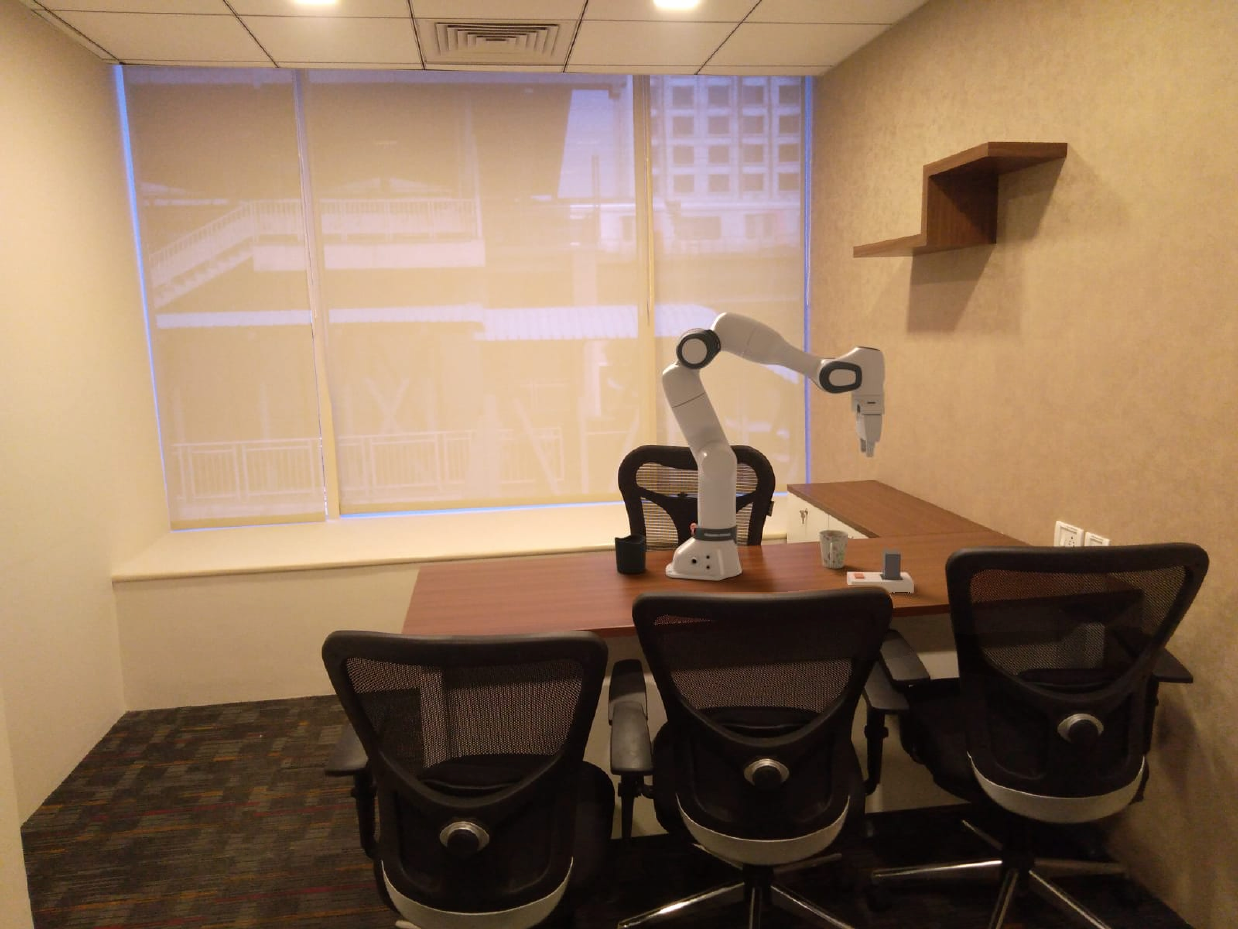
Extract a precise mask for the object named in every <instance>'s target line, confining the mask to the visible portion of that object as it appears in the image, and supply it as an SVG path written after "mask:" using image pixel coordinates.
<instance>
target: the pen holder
mask: <svg viewBox="0 0 1238 929" xmlns="http://www.w3.org/2000/svg"><path fill="white" fill-rule="evenodd" d="M646 546H647V536H645V535H641V534H629V535H627V536H624V537H618V536H617V537H614V551H615V563H616V570H617V572H619V573H621V574H626V575H631V574H632V575H634V574H640V573H643V572H644V571H645V570H646V566H647V565H646V563H647V562H646V560H647V559H646V557H647V556H646V555H647V547H646Z"/></svg>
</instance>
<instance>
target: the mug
mask: <svg viewBox="0 0 1238 929" xmlns="http://www.w3.org/2000/svg"><path fill="white" fill-rule="evenodd" d="M818 536H819V538H818V539H819V546H820V552H821V553H820V554H821V560H822V566H823V567H824V568H827V569H841V568H843V567H844V566H845V559H846V552H847V546H848V539H849V537H848V536H849V533H848V532H846V531H845V530H839V529H838V530H837V529H828V530H821V531H819V532H818Z"/></svg>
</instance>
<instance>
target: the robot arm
mask: <svg viewBox="0 0 1238 929" xmlns="http://www.w3.org/2000/svg"><path fill="white" fill-rule="evenodd" d="M712 322H713V323H712V324H711V326H710V327H709V328H708V329H705V328H701V327H699V328H698V327H696V328H695V327H694V328H692V329H688V330H687V331H685V332H683V334H682V335H681V336H680V337H679V338H678V341H677V343H676V348H675V353H676V357H677V359H676V361H675V362H674V363H672V364H669V366H668V367H666V368H665V369H664V371H663V372H662V374H661V378H660V379H661V383H662V387H663V391H664V394H665V397H666V399H667V402H668V404H669V406H670V409H671V411H672V413H673V415H674V418H675V421H676V422H677V424H678V426H679V428H680V430H681V433H682V435H683V436H684V439H685V441H686V443H687V445H688V448H689V449H690V451H691V453H692V456H693V458H694V460H695V462H696V465H697V523H694V522H693V523H691V525H690V527H689V528H690V531H691V532H690V534H691V537H689V539H688V540H686V541H684V542H683V543H682V544H680V546H678V548H676V550H675V551H674V553H673V558H672V562H670V563H669V564H667V565H666V568H665V574H666V576H668V577H669V578H675V579H690V580H705V581H721V580H724V579H726V578H733V577H736V576H738V575H740V574H742V573H743V570H742V567H741V563H740V558H739V553H738V552H739V551H738V541H739V530H738V524H737V522H736V521H737V519H736V518H737V516H736V515H737V514H736V513H737V511H736V507H737V506H736V505H737V502H736V499H737V498H736V497H737V484H738V483H737V478H738V459H737V456H736V453H735V451H733V449H732V448H731V446H730V443H729V440H728V439H727V436H726V434H725V431H724V430H723V428H722V425H721V422H720V420H719V417H718V416H717V414H716V411H715V409H714V407H713V404H712V402H711V400H710V398H709V395H708V394H707V391H706V388H705V386H704V385H703V382H702V380H701V377H700V376H701V375H700V371H701V369H704V368H706V367H707V366H708V365H709V364H711V362H712V361H713V360H714V359H715V358H716V357H717V355H719V353H721V352H726V353H730V354H733V355H734V356H737V357H739V358H742V359H744V360H746V361H749V362H753V363H755V364H759V365H765V366H766V365H767V366H769V365H770V366H771V365H773V366H780V367H784V368H787V369H789V370H790V371H793V372H795V373H798V374H801V375H803V376H805V377H807V378H809V379H810V380H812V382H813V383H814V385H816V386H817V387H818V388H819V389H820V390H821V391H823V392H825V393H828V394H831V395H840V394H844V393H847V392H850V393H851V396H850V402H851V404H850V409H851V410H850V412H852V413H855V426H854V427H855V434H856V435H857V436H858V437H859V444H860V446H859V447H860V452H861V453H865V456H866V457H867V458H873V457H874V455H875V454H874V452H875V447H876V443H879V442H880V440H881V435H882V428H883V427H882V425H883V415H884V414H886V407H885V389H884V383H885V379H886V369H885V368H886V366H885V358H884V354H883V352H882V351H881V350H880V349H878V348H874V347H869V346H861V345H859V346H855V347H854V348H852V350H850V351H848V352H847V353H844V354H843V355H841V356H838V357H819V356H815V355H814V354H811V353H809V352H806V351H804V350H802V349H800V348H798V347H796V346H794V345H792V344H791V343H789V342H788V341H787V340H786V339H785V338H784V337H783V336H782V335H781V334H780V333H779V332H778V331H777V330H775V329H774V328H773V327H770V326H769V325H767V324H766V323H763V322H762V321H758V320H756V319H754V318H751V317H750V316H749V317H748V316H746V315H742V314H739V313H736V312H731V311H724V312H722V313H720V314H719V315H717V317H716V318H715V319H714V320H713V321H712Z"/></svg>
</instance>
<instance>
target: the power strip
mask: <svg viewBox="0 0 1238 929" xmlns="http://www.w3.org/2000/svg"><path fill="white" fill-rule="evenodd" d="M846 584H847V586H848V585H877V586H882V587H884V588H885V589H887V590H888V591H889V592H890V594H896V593H895V592H908V593H907V594H914V592H915V586H914V585H915V581H914V580H913V579H912V577H911V576H910V575H909V573H908V572H907V571H906V572H905V571H904V572H901V571H900V580H882V571H881V572H880V571H873V572H872V571H847V572H846ZM892 592H893V593H892ZM909 592H910V593H909Z"/></svg>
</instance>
